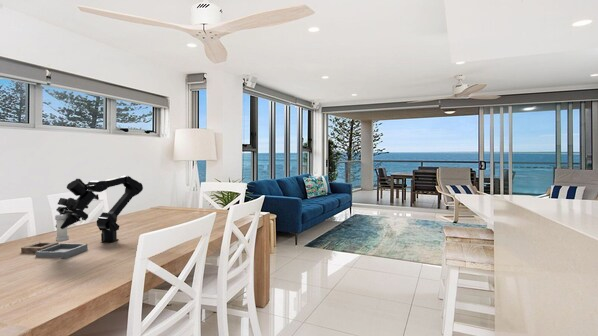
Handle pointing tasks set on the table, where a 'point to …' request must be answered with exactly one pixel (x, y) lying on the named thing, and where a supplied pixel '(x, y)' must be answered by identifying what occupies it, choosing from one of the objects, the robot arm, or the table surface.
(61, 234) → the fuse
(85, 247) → the parts tray
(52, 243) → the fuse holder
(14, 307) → the table surface
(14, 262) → the table surface
